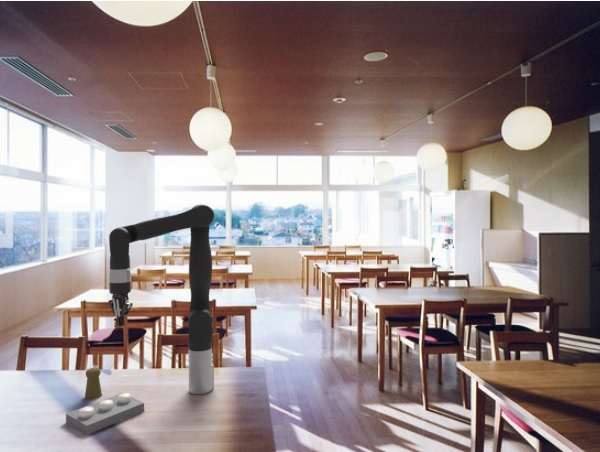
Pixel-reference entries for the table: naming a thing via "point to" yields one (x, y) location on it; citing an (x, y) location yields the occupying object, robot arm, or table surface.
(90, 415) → the knob
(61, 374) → the table surface
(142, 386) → the table surface
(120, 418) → the control board
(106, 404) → the knob middle
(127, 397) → the knob
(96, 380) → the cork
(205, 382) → the robot arm
